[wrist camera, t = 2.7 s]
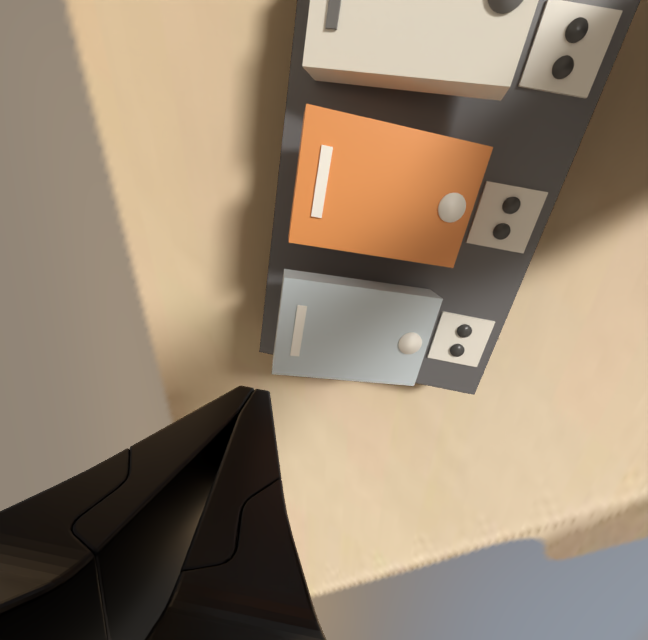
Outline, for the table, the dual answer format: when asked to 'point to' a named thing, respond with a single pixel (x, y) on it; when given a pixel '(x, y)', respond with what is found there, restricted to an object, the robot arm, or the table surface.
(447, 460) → the table surface
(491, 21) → the ivory rocker
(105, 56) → the table surface
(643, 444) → the table surface
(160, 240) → the table surface
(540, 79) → the power strip
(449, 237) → the orange box with knob
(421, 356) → the grey-blue rocker
